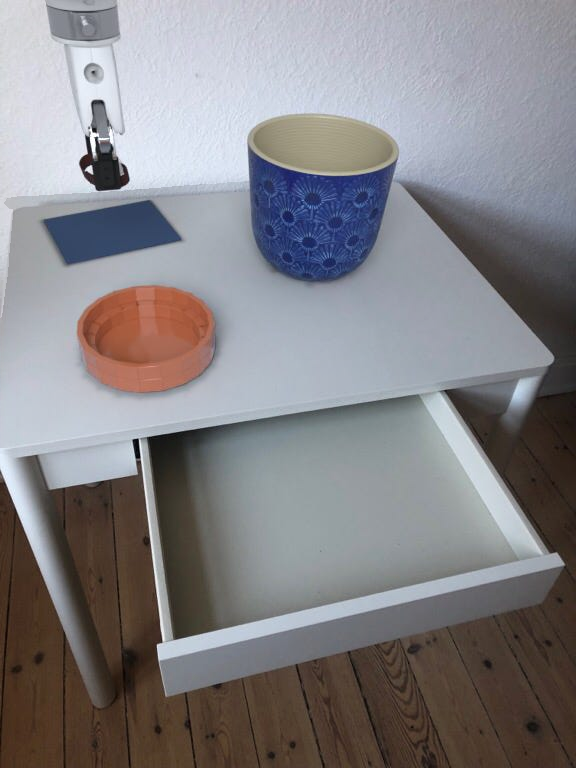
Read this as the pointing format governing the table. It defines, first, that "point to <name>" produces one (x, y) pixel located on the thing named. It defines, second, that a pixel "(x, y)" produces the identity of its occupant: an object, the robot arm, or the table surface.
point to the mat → (110, 231)
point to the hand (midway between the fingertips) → (104, 175)
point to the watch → (85, 163)
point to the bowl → (146, 338)
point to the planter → (318, 192)
